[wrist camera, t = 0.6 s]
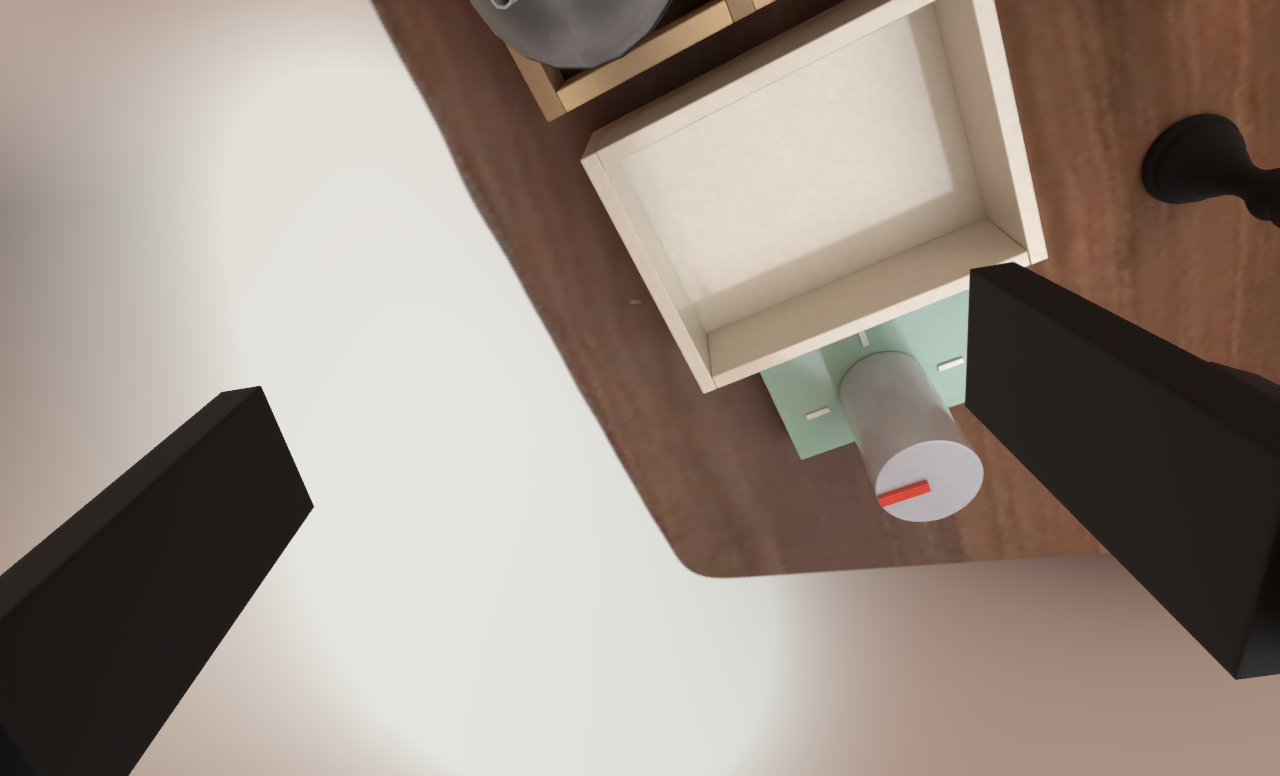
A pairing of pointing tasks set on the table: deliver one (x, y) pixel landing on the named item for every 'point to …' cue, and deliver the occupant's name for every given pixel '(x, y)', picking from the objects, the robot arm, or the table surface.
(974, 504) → the table surface
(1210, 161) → the chess piece
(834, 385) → the green dial base plate
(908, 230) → the cream open storage tray
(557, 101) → the wooden compartment tray
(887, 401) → the tap knob
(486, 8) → the beverage cup
